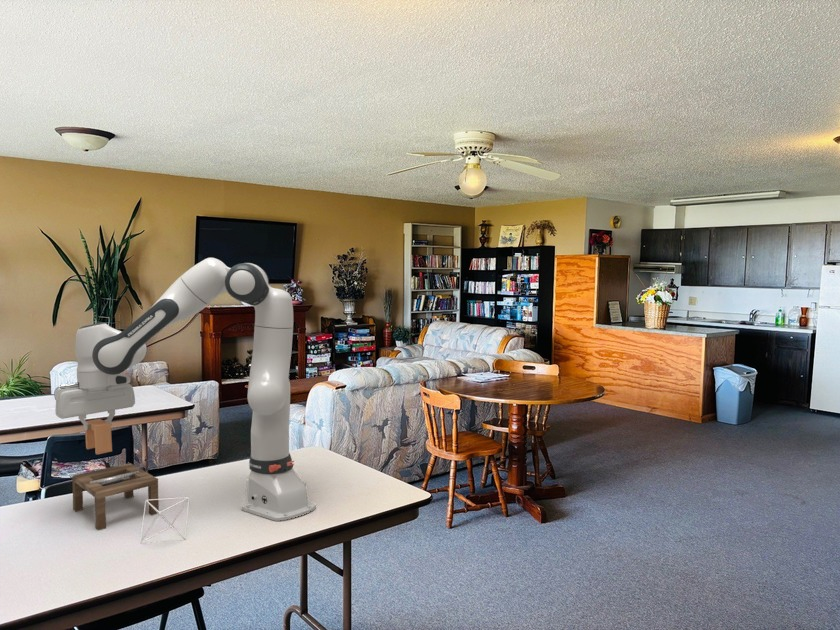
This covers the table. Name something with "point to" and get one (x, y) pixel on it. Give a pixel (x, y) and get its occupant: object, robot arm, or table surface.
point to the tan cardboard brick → (99, 436)
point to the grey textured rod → (115, 478)
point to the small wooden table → (113, 489)
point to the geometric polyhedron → (164, 519)
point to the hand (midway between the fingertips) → (97, 427)
